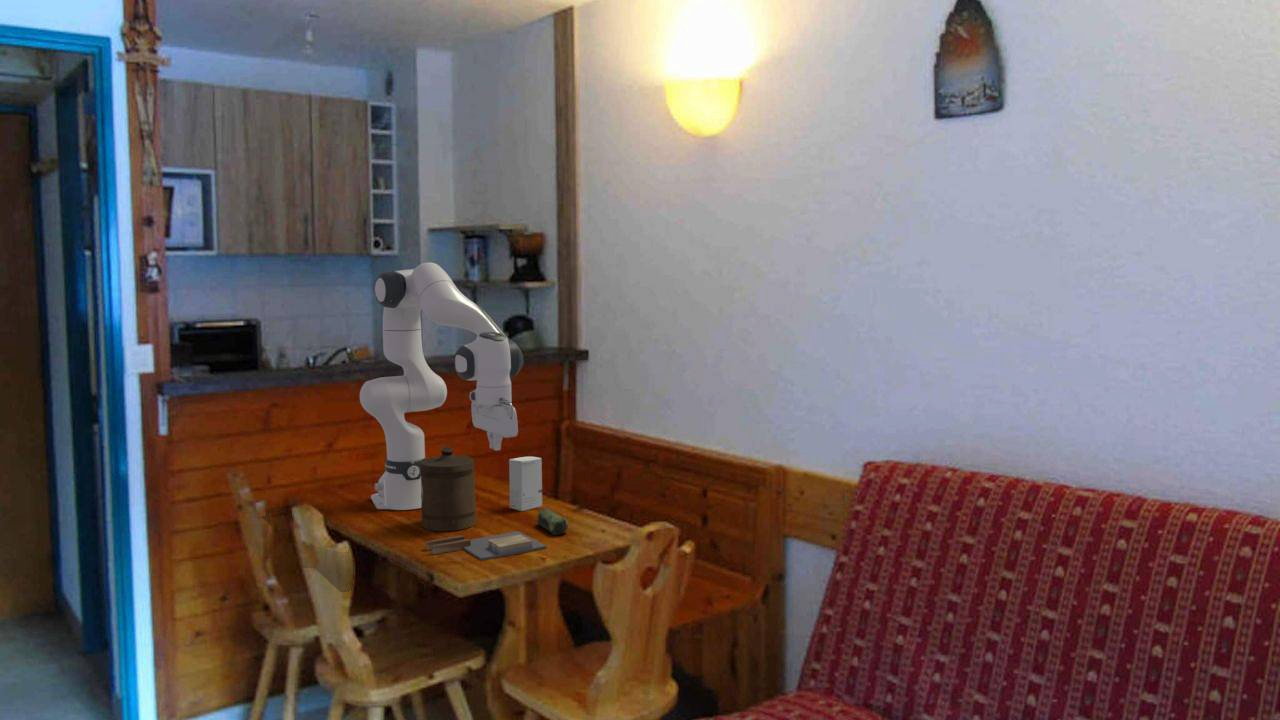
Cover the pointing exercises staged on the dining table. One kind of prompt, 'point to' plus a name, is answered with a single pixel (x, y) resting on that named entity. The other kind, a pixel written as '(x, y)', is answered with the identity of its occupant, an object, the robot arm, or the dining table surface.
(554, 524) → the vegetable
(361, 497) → the dining table surface
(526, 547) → the tile
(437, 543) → the holder
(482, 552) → the mat
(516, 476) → the skincare box
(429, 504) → the wooden container
